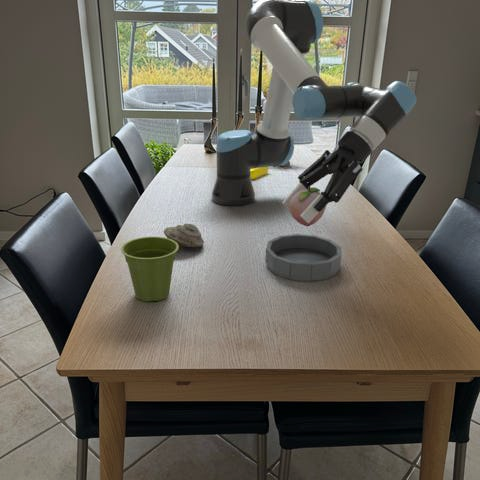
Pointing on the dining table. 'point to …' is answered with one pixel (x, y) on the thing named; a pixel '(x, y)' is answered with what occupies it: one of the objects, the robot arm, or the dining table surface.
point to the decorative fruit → (304, 205)
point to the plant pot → (150, 266)
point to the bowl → (303, 257)
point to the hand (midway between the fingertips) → (294, 212)
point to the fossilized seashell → (185, 235)
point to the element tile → (258, 172)
